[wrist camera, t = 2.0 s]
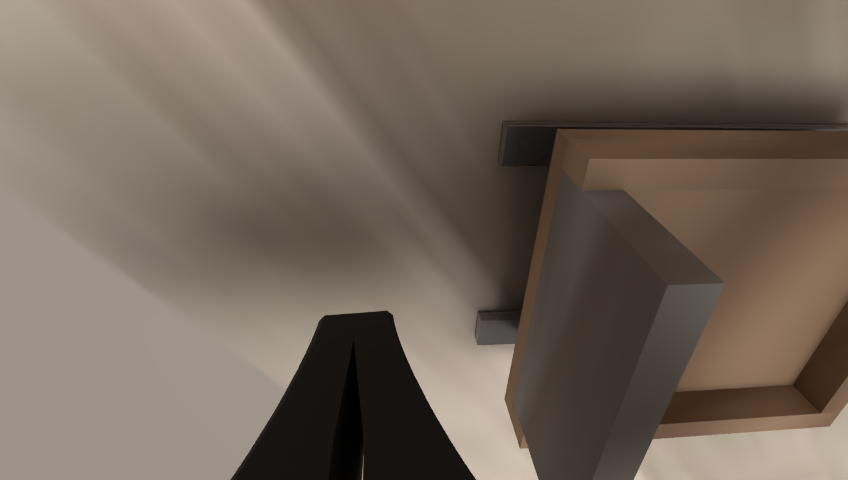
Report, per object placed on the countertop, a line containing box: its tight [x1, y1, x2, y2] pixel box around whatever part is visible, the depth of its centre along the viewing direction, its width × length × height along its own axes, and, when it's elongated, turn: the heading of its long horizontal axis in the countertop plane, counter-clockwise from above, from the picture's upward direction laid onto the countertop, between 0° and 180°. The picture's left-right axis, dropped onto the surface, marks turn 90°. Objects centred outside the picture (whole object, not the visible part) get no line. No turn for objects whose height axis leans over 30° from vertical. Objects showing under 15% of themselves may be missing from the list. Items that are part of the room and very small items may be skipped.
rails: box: [475, 121, 848, 345], centre depth 14 cm, size 13×7×1 cm, turn 88°
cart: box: [505, 129, 848, 480], centre depth 11 cm, size 9×8×6 cm
